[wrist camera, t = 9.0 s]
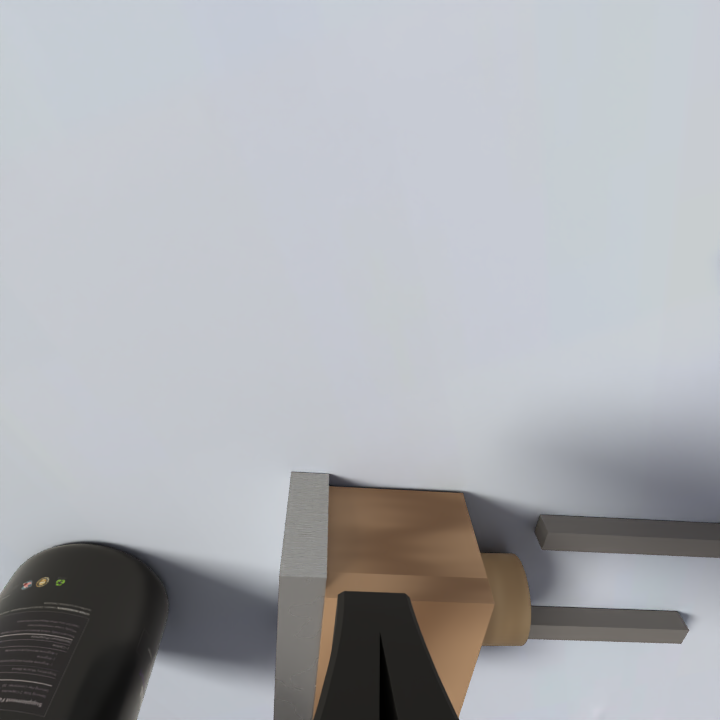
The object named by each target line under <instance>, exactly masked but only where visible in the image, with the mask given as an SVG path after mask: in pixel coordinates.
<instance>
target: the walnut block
mask: <svg viewBox="0 0 720 720" xmlns="http://www.w3.org/2000/svg"><path fill="white" fill-rule="evenodd" d="M343 591H361V592H388V593H406V594H407V595H408V596H409V597H410V600H411V603H412V607H413V610H414V613H415V616H416V619H417V622H418V624H419V627H420V630H421V633H422V635H423V638H424V641H425V643H426V646H427V648H428V651H429V653H430V656H431V658H432V661H433V663H434V665H435V668H436V670H437V672H438V675H439V677H440V679H441V682H442V684H443V686H444V688H445V690H446V692H447V695H448V697H449V699H450V701H451V703H452V705H453V708H454V710H455V712H456V714H457V716H458V717H459V714H460V711H461V708H462V705H463V702H464V699H465V696H466V692H467V689H468V686H469V683H470V680H471V677H472V674H473V671H474V667H475V664H476V661H477V658H478V655H479V652H480V649H481V646H482V642H483V639H484V636H485V633H486V630H487V627H488V624H489V621H490V617H491V614H492V611H493V608H494V605H495V603H494V599H493V596H492V592H491V589H490V585H489V582H488V578H487V575H486V571H485V568H484V565H483V561H482V558H481V554H480V551H479V547H478V544H477V540H476V537H475V533H474V530H473V526H472V523H471V520H470V516H469V513H468V509H467V506H466V502H465V499H464V495H463V493H449V492H430V491H411V490H391V489H372V488H353V487H333V486H329V501H328V544H327V580H326V590H325V600H324V610H323V620H322V630H321V640H320V650H319V660H318V670H317V681H316V691H315V701H314V711H313V719H314V716H315V713H316V709H317V706H318V702H319V699H320V695H321V691H322V687H323V683H324V680H325V676H326V672H327V668H328V664H329V660H330V655H331V650H332V641H333V632H334V624H335V615H336V606H337V598H338V594H340V593H341V592H343Z"/></svg>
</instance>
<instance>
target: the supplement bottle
mask: <svg viewBox="0 0 720 720" xmlns="http://www.w3.org/2000/svg"><path fill="white" fill-rule="evenodd" d="M168 611H169V603H168V597H167V593H166V591H165V588H164V586H163V584H162V582H161V581H160V579H159V578H158V576H157V575H156V574H155V573H154V572H153V571H152V570H151V569H150V568H149V567H148V566H147V565H145V564H144V563H143V562H141V561H140V560H138V559H137V558H135V557H133V556H131V555H129V554H127V553H125V552H123V551H120V550H117V549H114V548H111V547H107V546H102V545H96V544H67V545H61V546H56V547H53V548H50V549H47V550H44V551H42V552H40V553H38V554H36V555H34V556H32V557H31V558H29V559H28V560H27V561H26V562H24V563H23V564H22V565H21V566H20V567H19V568H18V569H17V571H16V572H15V573H14V574H13V576H12V577H11V579H10V580H9V582H8V583H7V585H6V586H5V588H4V589H3V591H2V592H1V594H0V720H137V717H138V714H139V711H140V707H141V704H142V701H143V698H144V694H145V691H146V688H147V685H148V681H149V678H150V675H151V672H152V668H153V665H154V662H155V659H156V655H157V652H158V649H159V645H160V642H161V639H162V635H163V632H164V628H165V625H166V621H167V617H168Z"/></svg>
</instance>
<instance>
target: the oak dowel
mask: <svg viewBox="0 0 720 720" xmlns="http://www.w3.org/2000/svg"><path fill="white" fill-rule="evenodd" d="M480 554H481V558H482V561H483V565H484V568H485V571H486V575H487V578H488V582H489V585H490V589H491V592H492V596H493V599H494V603H495V605H494V608H493V611H492V614H491V617H490V621H489V624H488V627H487V630H486V633H485V636H484V639H483V642H482V646H522V645H524V644H525V643H526V641H527V639H528V636H529V632H530V625H531V601H530V593H529V586H528V582H527V578H526V574H525V571H524V568H523V565H522V563H521V561H520V560H519V558H518V557H517V556H516V555H515V554H513V553H480Z"/></svg>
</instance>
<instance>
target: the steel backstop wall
mask: <svg viewBox="0 0 720 720" xmlns="http://www.w3.org/2000/svg"><path fill="white" fill-rule="evenodd" d="M328 501H329V474H319V473H300V472H291V479H290V488H289V496H288V505H287V514H286V522H285V531H284V539H283V548H282V557H281V565H280V574H279V595H278V620H277V646H276V671H275V696H274V720H313V711H314V701H315V691H316V681H317V670H318V660H319V650H320V640H321V630H322V620H323V610H324V600H325V590H326V580H327V544H328Z"/></svg>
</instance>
